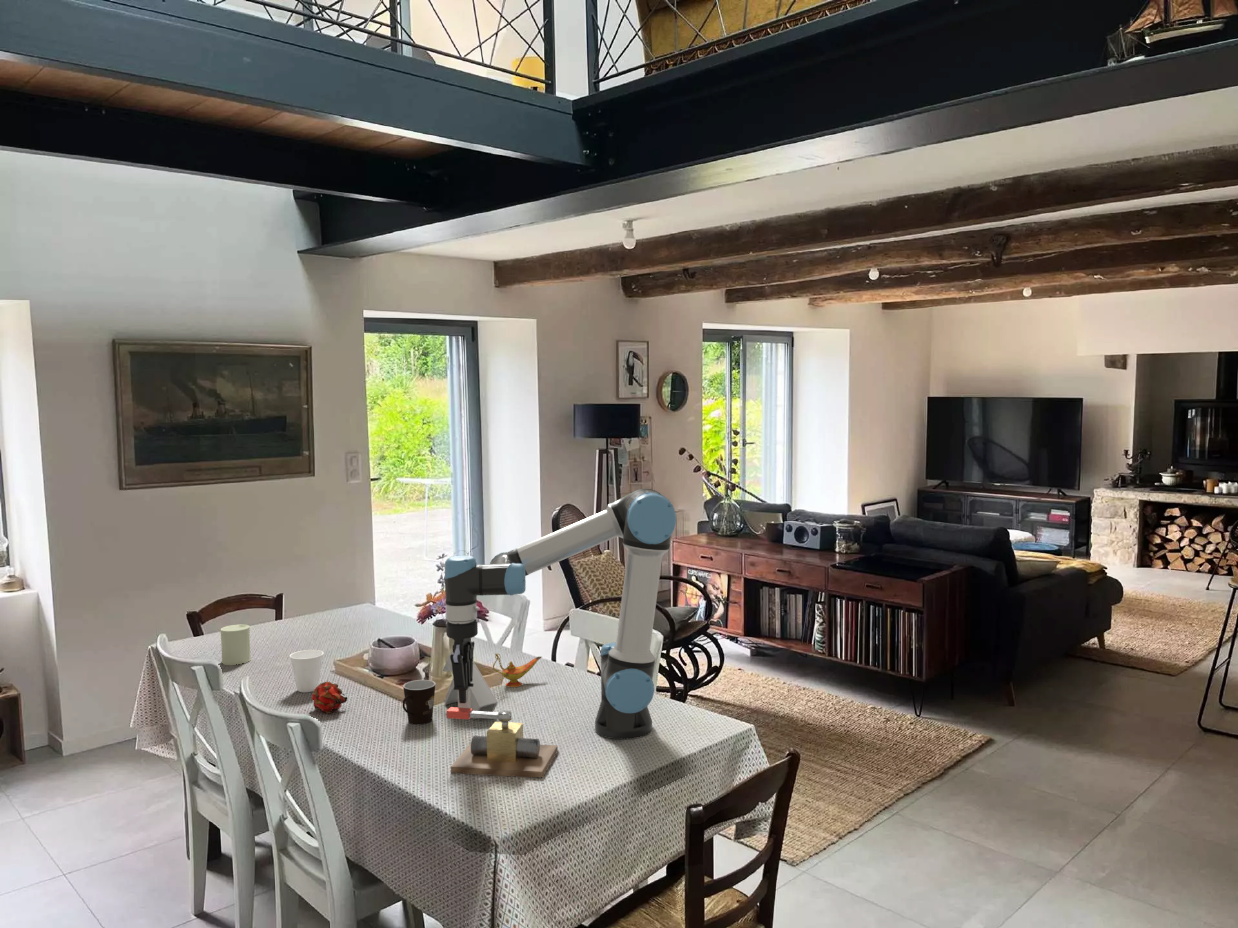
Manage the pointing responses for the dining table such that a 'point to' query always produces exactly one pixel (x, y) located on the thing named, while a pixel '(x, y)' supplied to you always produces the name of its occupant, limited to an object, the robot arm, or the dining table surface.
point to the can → (235, 644)
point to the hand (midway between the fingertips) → (464, 714)
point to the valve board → (505, 764)
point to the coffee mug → (419, 701)
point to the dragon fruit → (328, 697)
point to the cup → (306, 669)
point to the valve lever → (477, 714)
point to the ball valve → (505, 743)
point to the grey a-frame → (472, 691)
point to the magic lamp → (515, 671)
